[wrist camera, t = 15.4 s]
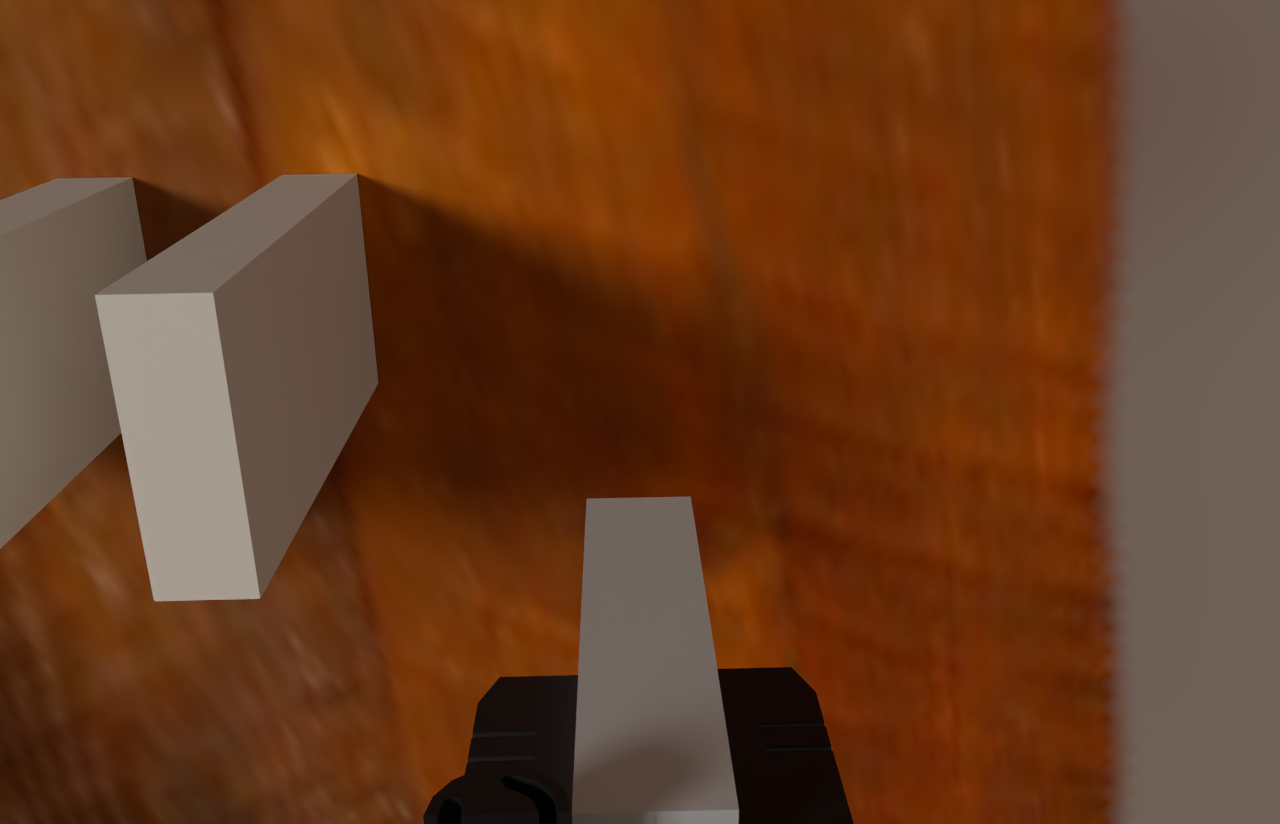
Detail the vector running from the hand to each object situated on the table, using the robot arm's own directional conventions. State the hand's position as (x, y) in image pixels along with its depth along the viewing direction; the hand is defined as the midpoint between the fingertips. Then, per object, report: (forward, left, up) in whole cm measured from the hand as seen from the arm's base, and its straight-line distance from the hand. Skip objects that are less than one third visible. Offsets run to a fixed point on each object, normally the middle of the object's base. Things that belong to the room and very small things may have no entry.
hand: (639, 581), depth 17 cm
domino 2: (0, -8, -16) cm, 18 cm away
